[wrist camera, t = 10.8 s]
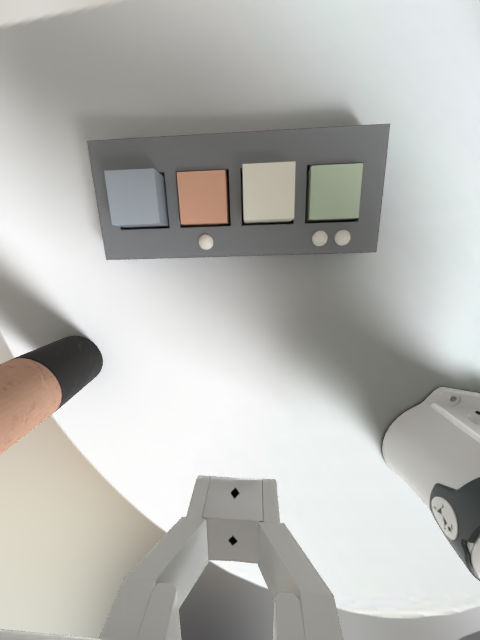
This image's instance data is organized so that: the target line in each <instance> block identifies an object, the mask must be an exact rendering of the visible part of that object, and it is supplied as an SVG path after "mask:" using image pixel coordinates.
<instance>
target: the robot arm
mask: <svg viewBox="0 0 480 640" xmlns="http://www.w3.org/2000/svg"><path fill="white" fill-rule="evenodd" d="M451 397H452V398H451ZM450 398H451V399H450ZM382 450H383V456H384V459H385V462H386V463H387V465H388V467H389V468H390V469H391V470H392V471H393V472H394V473H395V474H396V475H398V476H399V477H400V478H401V479H402V480H403V481H404V482H405V483H406V484H407V485H408V486H409V487H410V488H411V489H412V490H413V491H414V493H415V494H416V495H417V496H418V497H419V498H420V499H421V500H422V502H423V503H424V504H425V505H426V506H427V508H428V509H429V510H430V511H431V513H432V514H433V516H434V518H435V520H436V522H437V524H438V525H439V527H440V529H441V530H442V532H443V534H444V535H445V537H446V538H447V540H448V541H449V543H450V544H451V545H452V547H453V548H454V550H455V551H456V553H457V554H458V555H459V557H460V558H461V560H462V561H463V562H464V564H465V565H466V567H467V568H468V569H469V571H470V572H471V573H472V575H473V576H474V577H475V578H477V579H478V580H479V581H480V393H476V392H471V391H465V390H459V389H453V388H448V387H439V388H437V389H436V390H434V391H433V392H432V393H431V394H430V395H429V396H428V397H427V398H426V399H425V400H424V401H423V402H422V403H420V404H419V405H417V406H415V407H413V408H411V409H409V410H407V411H406V412H404V413H403V414H402V415H400V416H399V417H398V418H397V419H396V420H395V421H394V422H393V423H392V424H391V426H390V427H389V429H388V430H387V432H386V434H385V437H384V440H383V447H382ZM208 560H222V561H238V562H247V563H257V564H258V566H259V569H260V571H261V573H262V575H263V578H264V580H265V582H266V584H267V586H268V589H269V591H270V593H271V595H272V598H273V600H274V602H275V607H274V629H273V640H343V636H342V631H341V627H340V622H339V618H338V614H337V609H336V604H335V600H334V596H333V594H332V593H331V591H330V590H329V588H328V587H327V585H326V584H325V582H324V581H323V579H322V578H321V577H320V575H319V574H318V572H317V571H316V569H315V568H314V566H313V565H312V563H311V562H310V560H309V559H308V558H307V556H306V555H305V553H304V552H303V550H302V549H301V547H300V546H299V544H298V543H297V542H296V540H295V539H294V537H293V536H292V534H291V533H290V531H289V530H288V528H287V527H286V526H285V524H284V523H280V519H279V507H278V496H277V484H276V480H275V479H255V478H229V477H216V476H201V475H199V476H198V477H197V479H196V483H195V487H194V490H193V494H192V498H191V501H190V505H189V509H188V512H187V516H186V517H182V518H181V519H180V520H179V521H178V522H177V523H176V524H175V525H174V526H173V527H172V528H171V529H170V530H169V531H168V532H167V533H166V534H165V536H164V537H163V538H162V539H161V540H160V541H159V542H158V543H157V544H156V545H155V546H154V547H153V548H152V549H151V550H150V551H149V552H148V554H146V555H145V556H144V557H143V558H142V560H141V561H140V562H139V563H138V564H137V565H136V566H135V567H134V568H133V569H132V570H131V571H130V572H129V573H128V575H126V576H125V577H124V579H123V582H122V584H121V586H120V589H119V591H118V593H117V596H116V598H115V601H114V603H113V606H112V608H111V610H110V613H109V615H108V617H107V620H106V622H105V625H104V627H103V629H102V632H101V634H100V637H99V639H97V638H86V637H76V636H66V635H65V636H64V635H55V634H45V633H35V632H25V631H14V630H4V629H0V640H181V632H180V622H179V611H178V609H179V608H180V606H181V605H182V603H183V601H184V600H185V598H186V597H187V595H188V593H189V592H190V590H191V589H192V587H193V586H194V584H195V582H196V581H197V579H198V578H199V576H200V575H201V573H202V571H203V570H204V568H205V566H206V565H207V563H208Z"/></svg>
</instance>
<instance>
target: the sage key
mask: <svg viewBox="0 0 480 640" xmlns="http://www.w3.org/2000/svg"><path fill="white" fill-rule="evenodd" d="M362 172H363V163H355V164H335V165H314V166H311V167H310V169H309V170H308V172H307V181H306V209H305V223H332V222H347V221H350V220H353V219H356V218H359V207H360V195H361V184H362Z"/></svg>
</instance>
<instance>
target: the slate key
mask: <svg viewBox="0 0 480 640" xmlns="http://www.w3.org/2000/svg"><path fill="white" fill-rule="evenodd" d="M104 174H105V181H106V187H107V194H108V201H109V207H110V214H111V221H112V225H115V226H120V227H125V228H130V229H133V228H161V227H170V226H169V216H168V205H167V194H166V184H165V177H163V176H162V175H161V174H160V173H159V172H158V171H156V170H155V169H154V168H151V169H131V170H111V171H104Z"/></svg>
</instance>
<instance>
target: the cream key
mask: <svg viewBox="0 0 480 640" xmlns="http://www.w3.org/2000/svg"><path fill="white" fill-rule="evenodd" d="M242 166H243V209H244V223H245V224H273V223H289V222H290V221H292V220H293V219H294V205H295V166H296V161H292V162H272V163H252V164H242Z"/></svg>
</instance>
